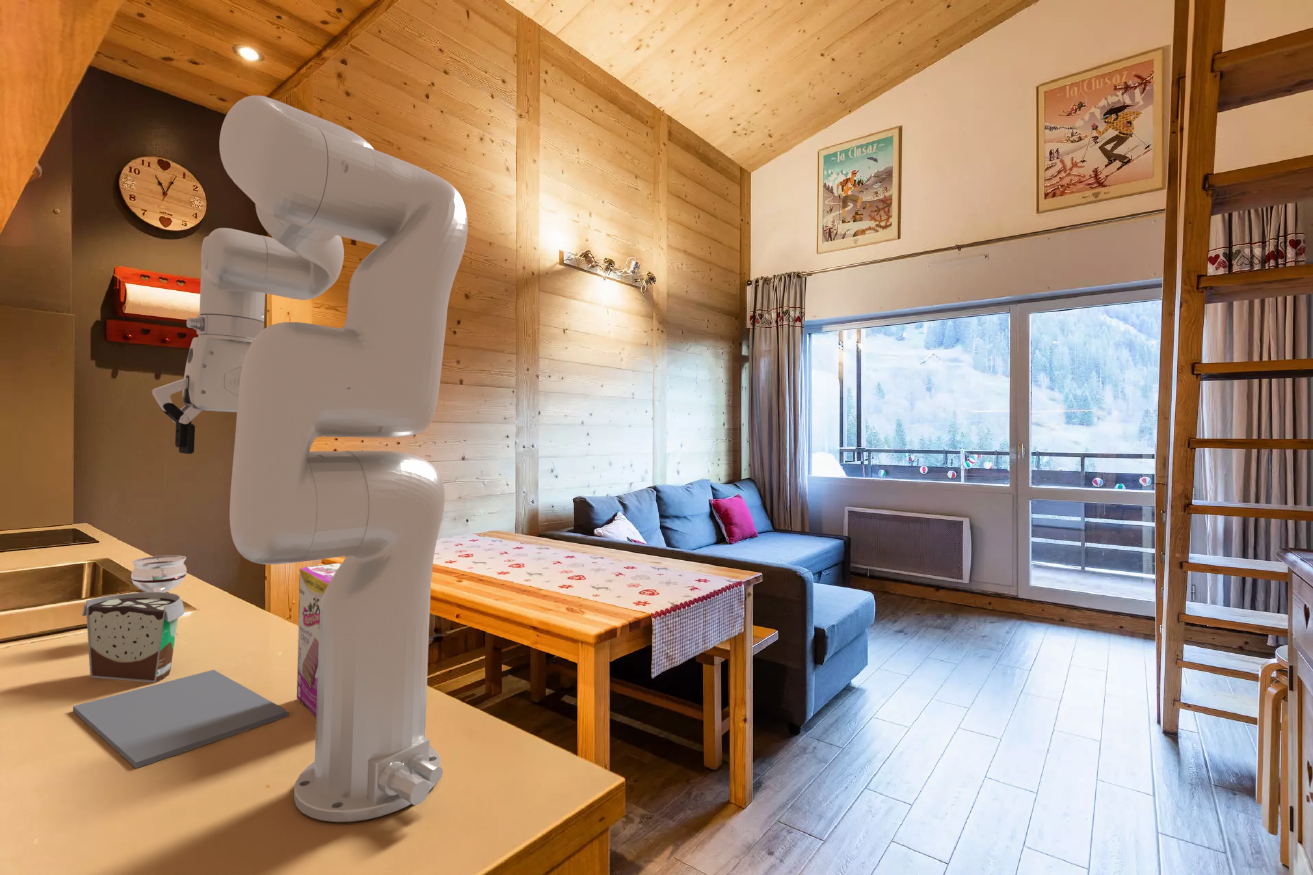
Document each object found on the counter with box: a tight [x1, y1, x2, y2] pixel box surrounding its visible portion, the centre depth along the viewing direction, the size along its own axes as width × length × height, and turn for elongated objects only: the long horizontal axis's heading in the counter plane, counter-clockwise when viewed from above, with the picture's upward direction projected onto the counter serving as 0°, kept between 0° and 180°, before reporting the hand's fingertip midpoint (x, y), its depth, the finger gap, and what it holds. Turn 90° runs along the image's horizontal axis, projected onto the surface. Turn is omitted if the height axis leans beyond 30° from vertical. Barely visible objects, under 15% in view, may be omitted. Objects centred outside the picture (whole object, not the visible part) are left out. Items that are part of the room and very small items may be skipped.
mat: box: [72, 669, 289, 769], centre depth 71 cm, size 20×14×1 cm
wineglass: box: [130, 555, 188, 635], centre depth 95 cm, size 7×7×12 cm
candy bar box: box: [296, 562, 342, 717], centre depth 73 cm, size 11×5×16 cm, turn 47°
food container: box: [81, 591, 186, 684], centre depth 82 cm, size 12×6×10 cm, turn 84°
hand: (226, 452), depth 87 cm, fingers open, 9 cm apart
